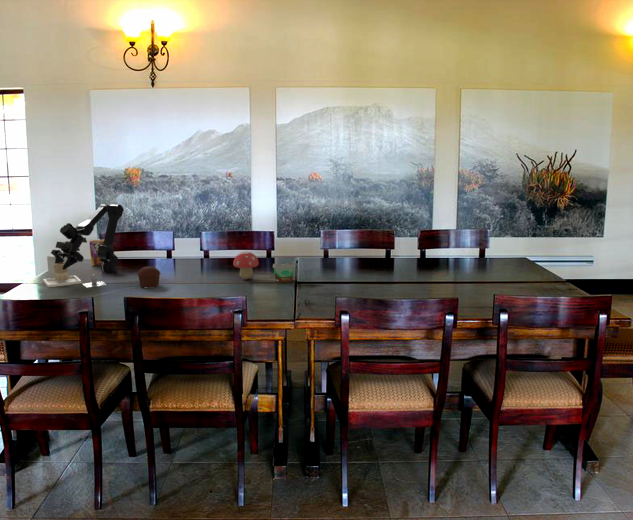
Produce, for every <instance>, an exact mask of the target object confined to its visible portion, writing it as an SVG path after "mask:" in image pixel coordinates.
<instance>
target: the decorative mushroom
mask: <svg viewBox="0 0 633 520" xmlns="http://www.w3.org/2000/svg"><path fill="white" fill-rule="evenodd" d="M259 263H260V262H259V259H258V257H257V256H256V255H255V254H254V253H253V252H251V251H242V252H240V253H238V254H237V255H236V256H235V257H234V259H233V266H234V268H239V276H240V278H242V279H244V280H249V279H251V278H252V276H253V275H254V271H253V268H257V267H258V265H259Z"/></svg>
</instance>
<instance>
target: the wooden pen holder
mask: <svg viewBox="0 0 633 520" xmlns="http://www.w3.org/2000/svg"><path fill="white" fill-rule="evenodd" d="M64 264H65V263H56V264H54V269H55V280H56V281H64V280H68V279H69V278H68V276H69V267H68V268H66V269H65V270H63V269H62V268H63V266H64Z"/></svg>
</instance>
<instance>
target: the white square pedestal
mask: <svg viewBox="0 0 633 520" xmlns="http://www.w3.org/2000/svg"><path fill="white" fill-rule="evenodd" d="M90 278H91V282H86V283H82V285H83V287H85V288H92V287H93V288H94V287H101V286H107V284H106V282H104V281H102V280H100V281H98V280H97V274H95V273H93V274H91V276H90Z"/></svg>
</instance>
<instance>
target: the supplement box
mask: <svg viewBox="0 0 633 520" xmlns="http://www.w3.org/2000/svg"><path fill="white" fill-rule="evenodd" d="M46 257H47V258H46V260H47V271H48V278H55V269H54V264H55V259H56V258H55V256H54V255H52V254H51V255H48V256H46ZM63 260H65V261H64V262H63V263H65V262H66V260H67V257H64V259H63Z"/></svg>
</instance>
